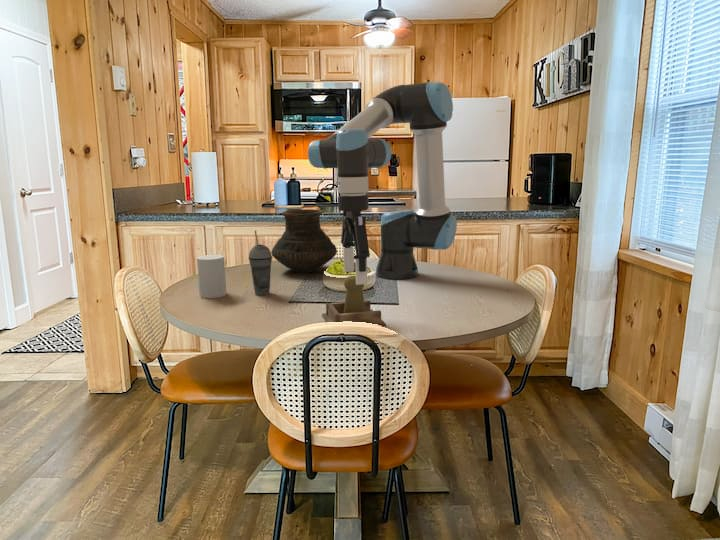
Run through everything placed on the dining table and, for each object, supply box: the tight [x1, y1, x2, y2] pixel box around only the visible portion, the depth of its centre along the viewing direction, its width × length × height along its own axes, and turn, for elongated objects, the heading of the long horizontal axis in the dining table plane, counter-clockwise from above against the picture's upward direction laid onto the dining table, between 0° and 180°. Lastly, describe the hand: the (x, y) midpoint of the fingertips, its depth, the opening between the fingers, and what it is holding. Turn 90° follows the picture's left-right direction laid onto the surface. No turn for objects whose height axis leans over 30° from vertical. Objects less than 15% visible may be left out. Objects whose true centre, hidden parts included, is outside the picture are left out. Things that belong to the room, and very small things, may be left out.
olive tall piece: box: [343, 275, 365, 313], centre depth 132 cm, size 6×6×11 cm
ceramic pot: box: [270, 208, 338, 273], centre depth 192 cm, size 24×24×22 cm
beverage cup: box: [248, 229, 273, 296], centre depth 159 cm, size 7×7×20 cm
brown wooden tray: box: [321, 299, 387, 327], centre depth 133 cm, size 14×13×4 cm
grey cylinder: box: [196, 254, 227, 299], centre depth 159 cm, size 8×8×12 cm
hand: (355, 277), depth 131 cm, fingers open, 13 cm apart
